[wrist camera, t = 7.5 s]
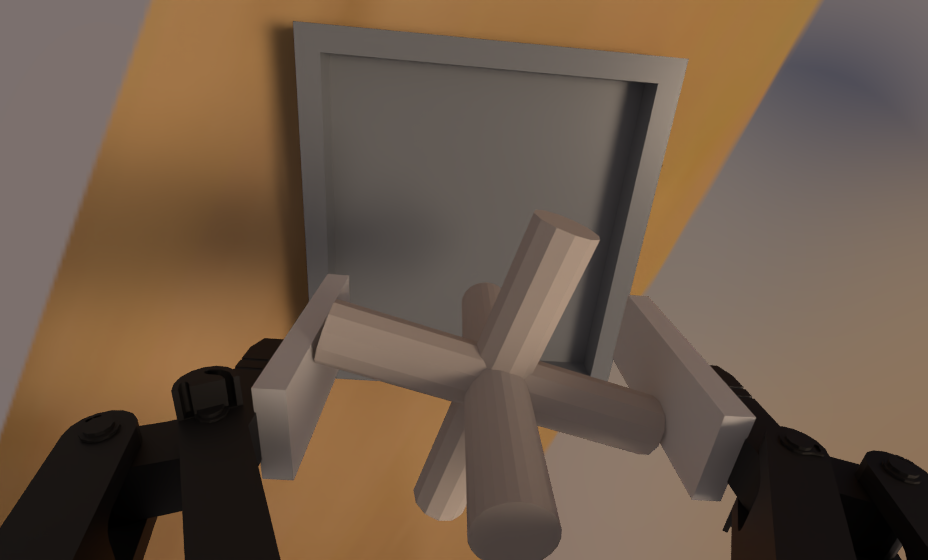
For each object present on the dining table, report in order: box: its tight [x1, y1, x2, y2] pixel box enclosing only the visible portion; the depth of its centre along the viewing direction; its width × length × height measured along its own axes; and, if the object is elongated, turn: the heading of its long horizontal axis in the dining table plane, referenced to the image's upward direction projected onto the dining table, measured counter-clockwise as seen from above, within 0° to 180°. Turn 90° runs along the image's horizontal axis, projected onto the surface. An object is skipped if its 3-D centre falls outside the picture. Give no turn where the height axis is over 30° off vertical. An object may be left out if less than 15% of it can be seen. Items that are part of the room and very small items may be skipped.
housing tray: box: [293, 21, 688, 382], centre depth 27 cm, size 20×19×2 cm
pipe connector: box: [314, 210, 665, 560], centre depth 13 cm, size 10×10×10 cm
